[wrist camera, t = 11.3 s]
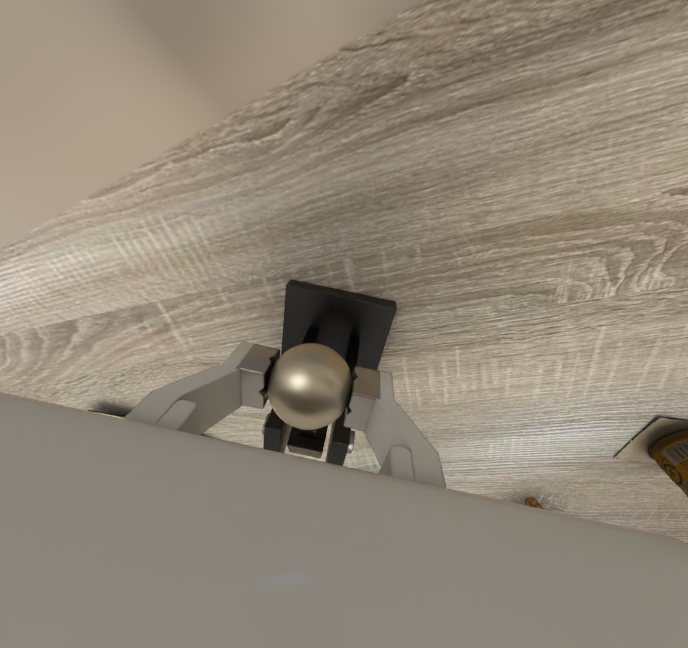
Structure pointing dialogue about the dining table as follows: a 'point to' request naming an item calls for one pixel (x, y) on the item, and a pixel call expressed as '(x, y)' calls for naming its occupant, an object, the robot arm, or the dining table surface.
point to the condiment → (662, 449)
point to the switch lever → (309, 394)
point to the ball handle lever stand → (331, 346)
